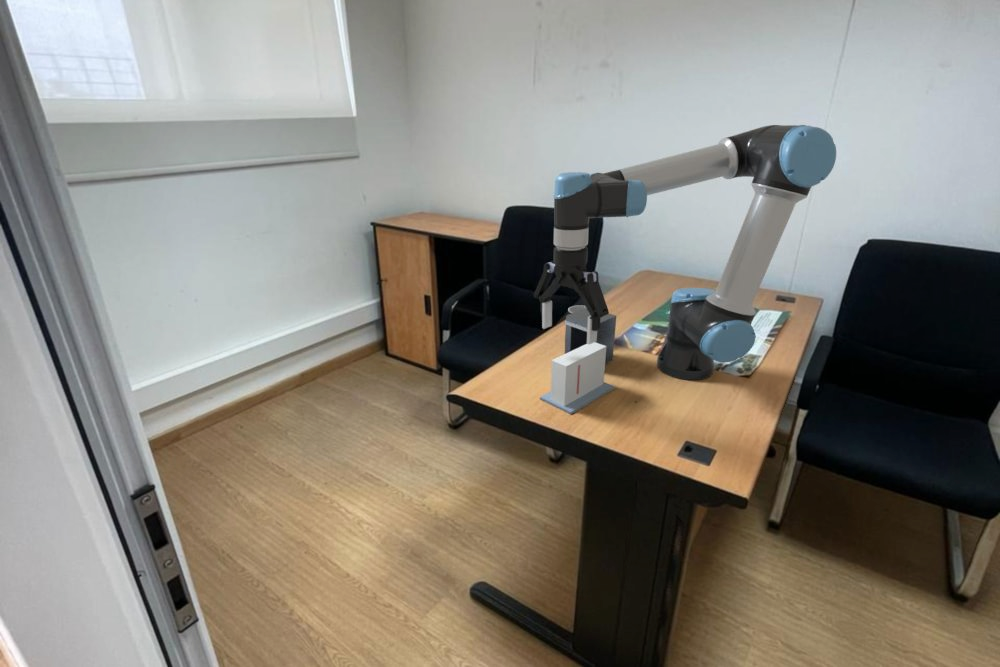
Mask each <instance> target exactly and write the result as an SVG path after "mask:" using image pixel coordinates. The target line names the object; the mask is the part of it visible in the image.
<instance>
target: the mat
mask: <svg viewBox="0 0 1000 667" xmlns="http://www.w3.org/2000/svg"><path fill="white" fill-rule="evenodd" d="M614 389H615V386H614V385H613V384H610V383H608V382H605V381H604V383H603V385H601V386H599V387H597V388H596V389H594V390H592V391H590V392H589V393H587V394H585V395H583V396H582V397H580V398H578V399H576V400H575V401H573V402H571V403H569V404H568V405H566V406H563V405H561V404H558V403H556V402H554V401H552V400H551V390H550V391H548V392H547V393H545V394H543V395H541V396H539V400H541V401H543V402H545V403H547V404H549V405H551V406H553V407H555V408H557V409H559V410H561V411H564V412H566V413H567V414H569V415H572V414H573V413H575V412H577V411H579V410H580V409H582V408H584V407H586V406H587V405H590V403H592V402H594V401H596V400H597V399H599V398H601V397H602V396H604V395H606V394H607V393H609V392H610V391H611V392H612V390H614Z"/></svg>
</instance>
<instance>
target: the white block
mask: <svg viewBox="0 0 1000 667" xmlns="http://www.w3.org/2000/svg"><path fill="white" fill-rule="evenodd" d="M605 358H606V346H604V345H601V344H599V343H596V342H594V343H592V344H590V345H589V344H585V345H583V346H581V347H579V348H577V349H575V350H573V351H570V352H568V353H566V354H565V353H563V354H562V355H560V356H558V357H555V358H554V359H551V370H550V371H551V376H550V378H551V379H550V391H551V400H552V401H554V402H556V403H558V404H561V405H563V406H566V405H568V404H569V403H571V402H573V401H575V400H576V399H578V398H580V397H582V396H583V395H585V394H587V393H589V392H590V391H592V390H594V389H596V388H597V387H599V386H601V385H603V383H604V382H605V368H606V364H605Z"/></svg>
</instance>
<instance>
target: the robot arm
mask: <svg viewBox="0 0 1000 667" xmlns="http://www.w3.org/2000/svg"><path fill="white" fill-rule="evenodd" d="M836 159H837V146H836V144H835V142H834V138H833V137H832V135H831V134H830V133H829V132H828V131H827V130H825V129H824V128H821V127H818V126H811V125H805V124H800V125H799V124H798V125H795V124H793V125H787V124H786V125H780V124H779V125H778V124H771V125H765V126H761V127H758V128H754V129H751V130H747V131H743V132H740V133H738V134H733V135H732V136H731V135H730V136H728V137H723V138H721V139H720V140H719V142H718V143H717V144H714V145H710V146H706V147H701V148H698V149H694V150H690V151H687V152H682V153H678V154H675V155H671V156H667V157H662V158H660V159H659V158H658V159H655V160H651V161H647V162H643V163H639V164H635V165H631V166H627V167H623V168H620V169H616V170H611V171H609V172H608V171H607V172H604V173H603V172H593V173H588V172H581V171H578V172H576V171H573V172H571V171H569V172H568V171H567V172H562V173H558V175H557V176H556V177H555V180H554V195H553V201H554V202H553V204H554V208H553V209H554V210H553V214H554V216H553V220H554V222H553V223H554V226H553V245H554V246H555V247H553V260H552V261H550V262H546V263H544V264H543V272H542V274H541V277H540V279H539V281H538V283H537V286H536V289H535V291H534V293H533V297H534V298H535V299H538V300H539V301H538V302H540V311H539V312H540V314H541V321H542V322H541V324H542V325H541V326H542V327H541V328H542V329H543V330H545V329H548V328H550V327H552V326H553V301H552V296H553V295H554V294H555V293H556V292H557V291H558V290H559V289H560V287H564V288H565V287H566V288H569V289H572V290H574V291H575V292H576V293H577V294H578V295H579V298H580V299H581V301H582V303H583V304H584V306H586V308H587V310H588V312H589V313H590V315H591V316H589V317H588V325H587V344H589V345H590V344H592V343H594V342H596V341H597V330H599V329H600V318H601V317H603V316H605V315H607V314H610V312H609V308H608V306H607V303H606V299H605V296H604V294H603V291H602V288H601V284H600V282H599V273H598V271H592V272H590V271H589V272H588V271H587V263H588V259H589V258H588V257H589V255H588V254H589V252H588V251H589V250H588V249H589V248H588V247H587V246H588V244H589V230H590V228H589V227H590V219H598V218H599V219H600V218H602V219H603V218H623V217H624V218H625V217H626V218H629V217H633V216H634V217H635V216H639V215H641V214H643V213H644V211H645V209H646V207H647V202H648V196H651V195H654V194H658V193H662V192H667V191H670V190H674V189H678V188H683V187H687V186H690V185H691V186H692V185H694V184H699V183H702V182H706V181H710V180H713V179H718V178H723V179H724V180H731V179H735V178H742V177H743V178H745V177H749V178H750V177H751V178H752V177H753V179H752V181H751V186H752V190H753V191H754V195H753V198H752V200H751V204H750V205H749V208H748V211H747V213H746V215H745V217H744V221H743V223H742V226H741V227H740V230H739V233H738V235H737V237H736V239H735V242H734V246H732V247H733V248H732V250H731V252H730V256H729V257H728V260H727V263H726V265H725V267H724V270H723V272H722V274H721V278H720V280H719V283H718V285H717V287H716V289H715V290H714V289H710V288H706V287H705V288H704V287H683V288H678V289H676V290H675V291H673V293H672V297H671V300H670V307H669V308H670V310H669V317H668V325H667V335H666V340H665V342H664V344H663V346H662V348H661V349H660V351H659V353H658V355H657V360H656V367H657V368H658V370H660V371H661V372H663V373H664V374H665V375H668V376H670V377H674V378H677V379H681V380H682V379H683V380H688V381H689V380H693V381H694V380H695V381H696V380H703V379H708V378H709V377H711V376H712V375H713V374H714V370H715V362H718V363H731V362H735V361H736V360H737V359H741V358H743V357H744V356H746V355H747V354H748V353H749V352H750V351H751V349H753V346H754V344H755V343H756V336H757V335H756V332H755V329H754V326H753V325H752V322H753V320H754V318H755V316H756V313H757V312H756V310H755V307H754V305H753V303H754V301H755V299H756V296H757V294H758V292H759V289H760V288H761V284H762V282H763V281H764V278H765V275H766V273H767V271H768V268H769V267H770V264H771V261H772V259H773V257H774V256H775V252H776V251H777V248H778V245H779V243H780V241H781V240H782V239H781V238H782V236H783V234H784V232H785V229H786V228H787V225H788V223H789V220H790V218H791V215H792V213H793V211H794V209H795V206H796V205H797V203H799V202H800V201H803V200H804V199H806V198H807V197H808V195H809V193H810V191H811V188H812V187H814V186H817V185H819V184H821V182H822V181H824V180H825V179H827V178H828V176H829V175H830V174H831V172H832V170H833V169H834V166H835V163H836V161H837V160H836ZM554 274H555V278H553V276H554ZM552 278H553V279H552ZM551 280H552V281H551ZM550 282H551V284H550ZM549 284H550V285H549Z"/></svg>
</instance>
